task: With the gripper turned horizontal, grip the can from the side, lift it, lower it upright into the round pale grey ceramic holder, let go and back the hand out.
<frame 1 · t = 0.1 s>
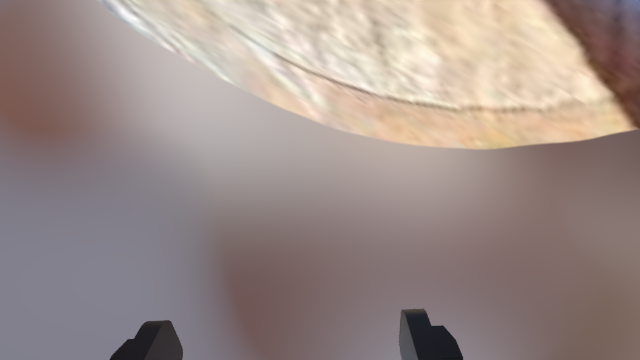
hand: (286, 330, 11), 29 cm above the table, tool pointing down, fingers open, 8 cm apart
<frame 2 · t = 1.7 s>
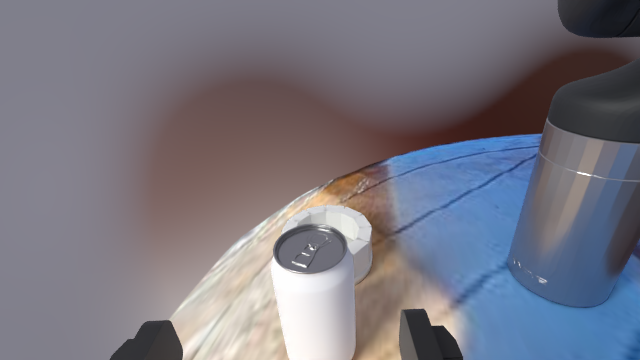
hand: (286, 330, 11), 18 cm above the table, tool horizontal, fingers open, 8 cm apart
holder: (328, 258, 39), on the table
can: (321, 346, 29), on the table
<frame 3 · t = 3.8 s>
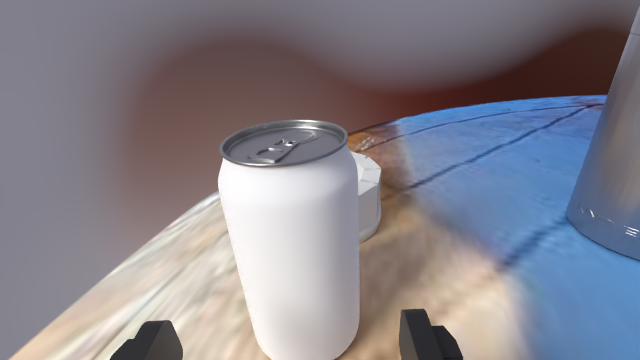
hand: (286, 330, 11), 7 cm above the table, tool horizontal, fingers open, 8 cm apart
holder: (322, 214, 29), on the table
can: (307, 322, 19), on the table
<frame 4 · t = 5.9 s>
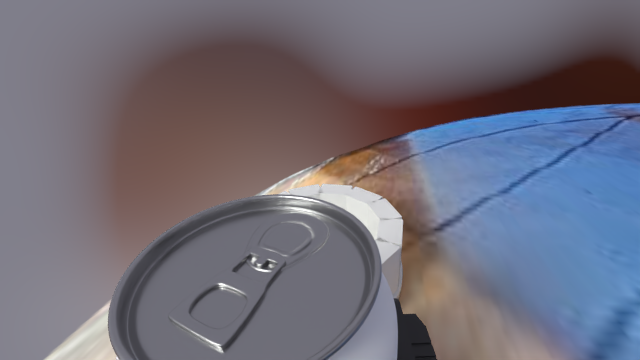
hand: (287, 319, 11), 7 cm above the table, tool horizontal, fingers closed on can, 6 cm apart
holder: (324, 272, 23), on the table
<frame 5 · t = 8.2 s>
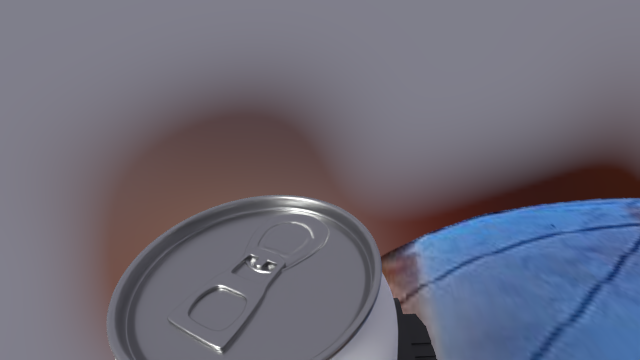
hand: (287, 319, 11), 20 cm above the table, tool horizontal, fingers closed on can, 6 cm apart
when the fingers open (9 cm above the table, at t = 10.9 s): can drops 1 cm, resting on holder.
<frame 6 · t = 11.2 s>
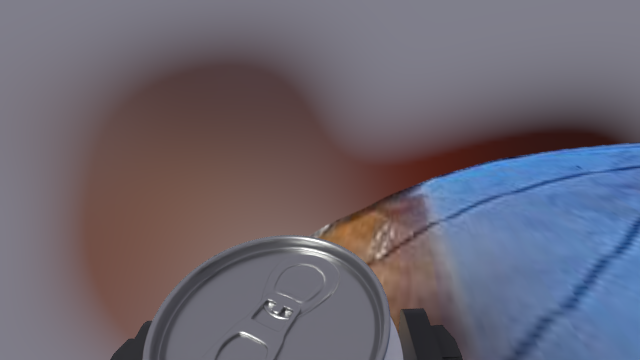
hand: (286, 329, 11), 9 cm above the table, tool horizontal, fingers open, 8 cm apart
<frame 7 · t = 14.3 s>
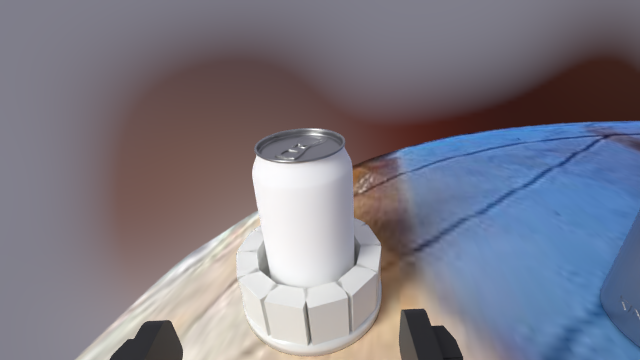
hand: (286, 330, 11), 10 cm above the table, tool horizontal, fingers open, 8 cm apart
holder: (312, 291, 25), on the table
can: (314, 285, 25), point 1 cm above the table, touching holder
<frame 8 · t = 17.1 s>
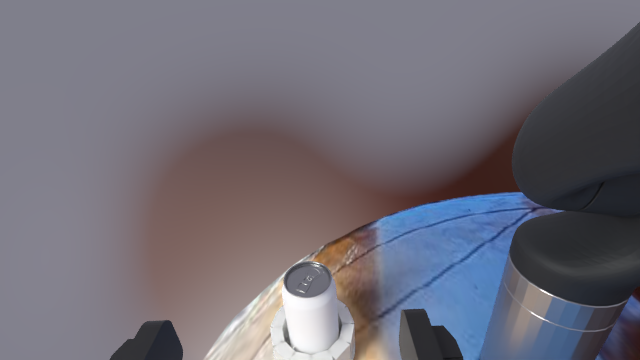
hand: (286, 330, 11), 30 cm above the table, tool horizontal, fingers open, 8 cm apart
holder: (314, 347, 42), on the table
can: (315, 344, 41), point 1 cm above the table, touching holder
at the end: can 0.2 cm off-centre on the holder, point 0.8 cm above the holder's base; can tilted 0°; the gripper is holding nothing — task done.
